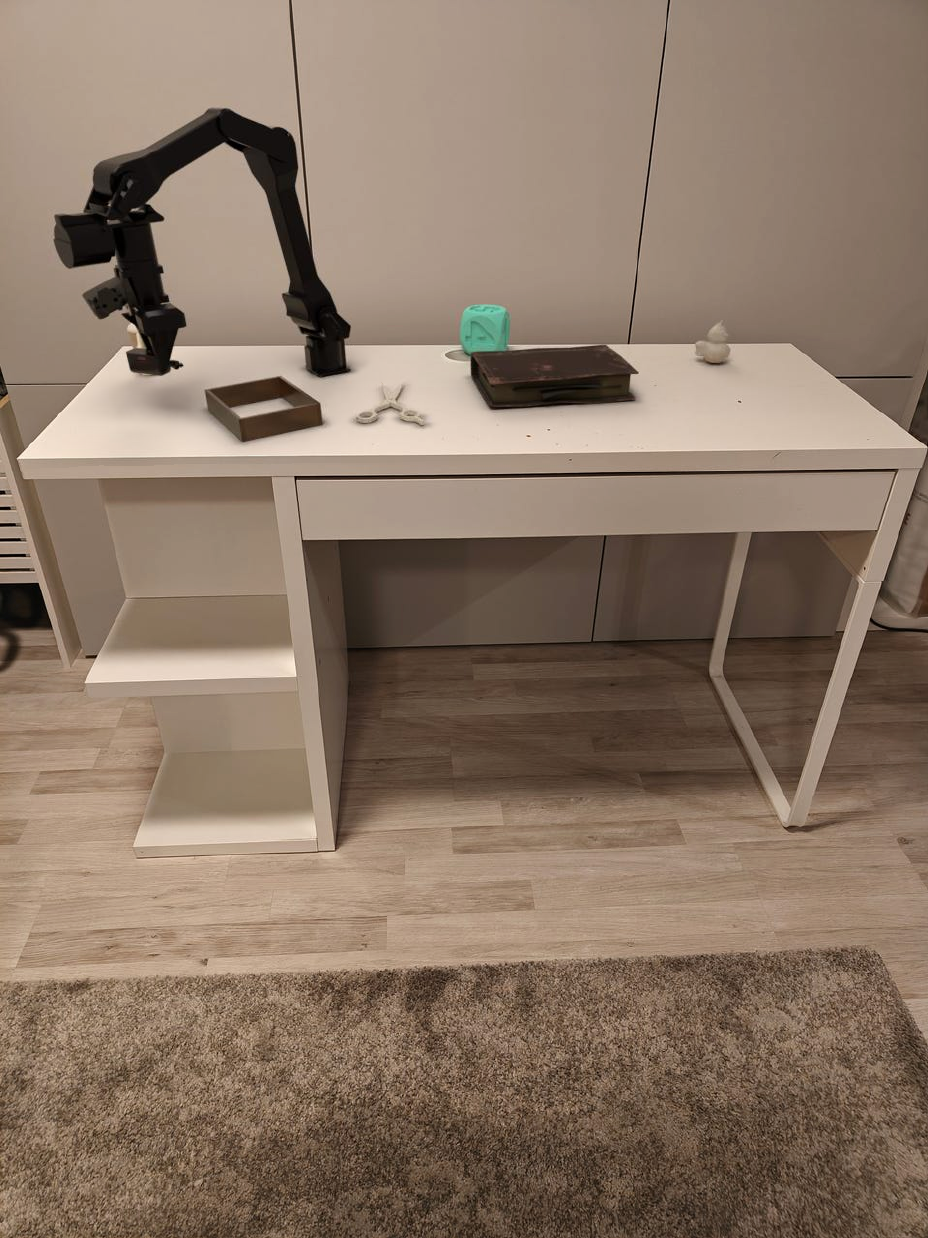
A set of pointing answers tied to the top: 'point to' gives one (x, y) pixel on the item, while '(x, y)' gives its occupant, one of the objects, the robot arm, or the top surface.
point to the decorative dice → (485, 328)
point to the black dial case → (148, 362)
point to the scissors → (387, 403)
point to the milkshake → (135, 338)
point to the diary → (552, 376)
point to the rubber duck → (714, 345)
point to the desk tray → (266, 423)
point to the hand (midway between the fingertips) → (159, 364)
